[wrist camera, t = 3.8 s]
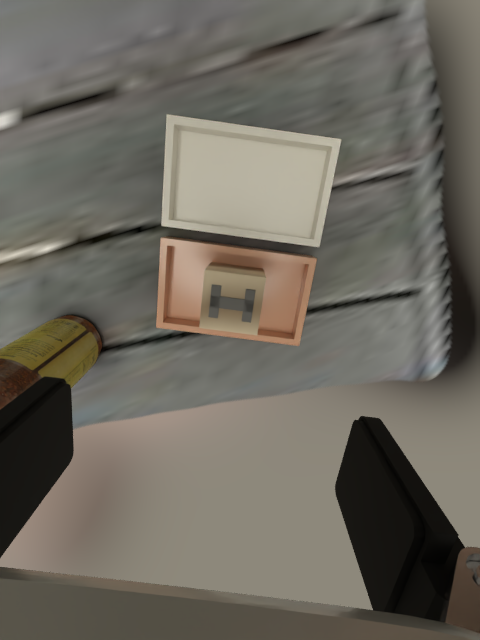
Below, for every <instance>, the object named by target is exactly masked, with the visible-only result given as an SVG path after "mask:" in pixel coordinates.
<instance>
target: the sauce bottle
mask: <svg viewBox="0 0 480 640" xmlns="http://www.w3.org/2000/svg"><path fill="white" fill-rule="evenodd" d="M101 348H102V341H101V338H100V335H99V334H98V332H97V330H96V329H95V327H94V326H93V324H91V323H90V322H89V321H87V320H85V319H83V318H80V317H77V316H72V315H66V316H62V317H59V318H56V319H54V320H51V321H48V322H46V323H45V324H43V325H41V326H40V327H38V328H36V329H34V330H33V331H31V332H29V333H28V334H26V335H24V336H22V337H21V338H19V339H17V340H16V341H14V342H12V343H10V344H9V345H7V346H5V347H4V348H2V349H0V410H1V409H2V408H3V407H4V406H6V405H7V404H8V403H10V402H11V401H12V400H14V399H15V398H16V397H18V396H19V395H20V394H21V393H23V392H24V391H25V390H27V389H28V388H29V387H31V386H32V385H33V384H35V383H36V382H37V381H38V380H40V379H41V378H43V377H44V376H48V377H56V378H63V379H65V381H66V383H67V384H70V386H71V388H72V387H73V386H74V385H75V384H76V383H77V382H78V381H79V380H80V379H81V378H82V377H83V376H84V374H85V373H86V372H87V371H88V370H89V369H90V368H91V367H92V366H93V365H94V364H95V362H96V360H97V358H98V356H99V354H100V351H101Z"/></svg>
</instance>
